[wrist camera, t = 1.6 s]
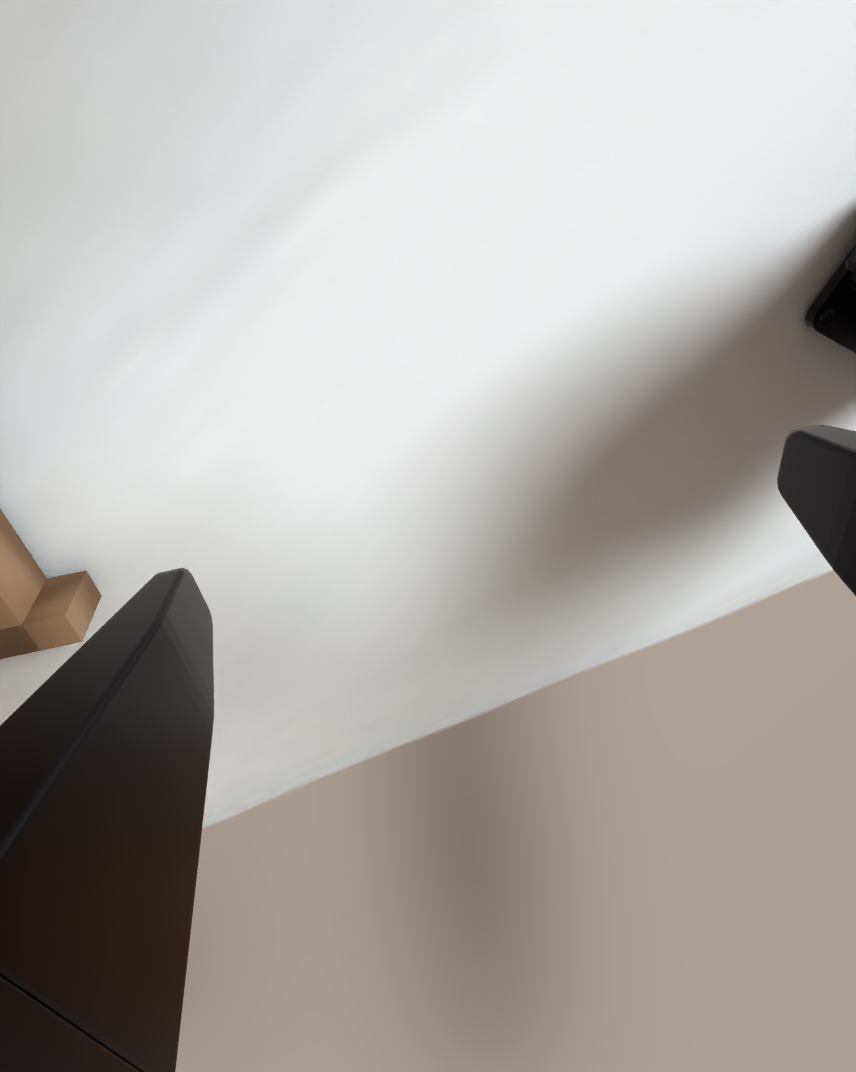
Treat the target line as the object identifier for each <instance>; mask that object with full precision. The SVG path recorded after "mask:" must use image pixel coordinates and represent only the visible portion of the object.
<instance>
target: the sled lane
mask: <svg viewBox="0 0 856 1072" xmlns="http://www.w3.org/2000/svg"><path fill="white" fill-rule="evenodd" d="M100 598H101V594H100V592H99V591H98V589H97V587H96V586H95V584H94V582H93V581H92V579H91V578H90V576H89V574H88V573H87V571H82V572H77V573H73V574H68V575H63V576H58V577H54V578H49V579H47V578H46V577H45V575H44V574H43V572H42V571H41V569H40V568H39V566H38V565H37V563H36V562H35V560H34V559H33V557H32V556H31V554H30V553H29V551H28V550H27V548H26V547H25V545H24V544H23V542H22V541H21V539H20V538H19V536H18V535H17V533H16V532H15V530H14V529H13V527H12V526H11V524H10V523H9V521H8V520H7V518H6V517H5V515H4V514H3V512H2V511H1V509H0V659H3V658H8V657H12V656H17V655H22V654H26V653H31V652H36V651H40V650H45V649H49V648H54V647H59V646H63V645H68V644H73V643H77V642H82V641H83V638H84V636H85V634H86V631H87V629H88V627H89V624H90V622H91V619H92V617H93V615H94V612H95V610H96V607H97V605H98V603H99V600H100Z"/></svg>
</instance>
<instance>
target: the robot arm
mask: <svg viewBox="0 0 856 1072" xmlns="http://www.w3.org/2000/svg"><path fill="white" fill-rule="evenodd" d="M825 311H827V313H826V315H825V317H824V318H823V319H822V320H821V321H820V318H821V316H822V314H823V313H824V312H825ZM805 322H806V325H807V326H808V327H809V328H810V329H812V330H814V331H816V332H817V333H819V334H821V335H823V336H825V337H826V338H828V339H830V340H832V341H834V342H835V343H837V344H839V345H841V346H843V347H844V348H846V349H848V350H850V351H852V352H853V353H855V354H856V246H855V247H854V248H853V250H852V251H851V252H850V254H849V255H848V256H847V258H846V259H845V261H844V262H843V263H842V265H841V266H840V267H839V269H838V270H837V271H836V273H835V274H834V276H833V277H832V278H831V280H830V281H829V282H828V284H827V285H826V287H825V288H824V289H823V291H822V292H821V293H820V295H819V296H818V297H817V299H816V300H815V302H814V303H813V304H812V306H811V307H810V308H809V310H808V312H807V314H806V318H805ZM777 484H778V489H779V491H780V494H781V495H782V497H783V498H784V500H785V501H786V503H787V504H788V506H789V507H790V508H791V510H792V511H793V513H794V514H795V516H796V517H797V519H798V520H799V521H800V523H801V524H802V526H803V527H804V529H805V530H806V532H807V533H808V535H809V536H810V537H811V539H812V540H813V542H814V543H815V545H816V546H817V548H818V549H819V550H820V552H821V553H822V555H823V556H824V558H825V559H826V560H827V562H828V563H829V564H830V566H831V567H832V568H833V570H834V571H835V572H836V573H837V575H838V576H839V577H840V578H841V580H842V581H843V582H844V583H845V584H846V585H847V586H848V588H849V589H850V590H851V591H852V592H853V593H854V595H855V596H856V431H851V430H845V429H840V428H835V427H830V426H824V425H814V426H810V427H805V428H801V429H797V430H794V431H792V432H791V433H789V435H788V436H787V438H786V440H785V444H784V449H783V453H782V458H781V463H780V468H779V472H778V477H777ZM213 720H214V676H213V625H212V618H211V614H210V611H209V608H208V606H207V604H206V602H205V600H204V598H203V596H202V594H201V592H200V590H199V588H198V586H197V584H196V582H195V580H194V578H193V576H192V574H191V573H190V572H189V571H188V570H187V569H185V568H179V569H174V570H170V571H165V572H161V573H158V574H156V575H155V576H154V577H153V578H152V579H151V580H150V581H149V582H148V583H146V584H145V585H144V586H143V587H142V588H141V589H140V590H139V591H138V592H137V593H136V594H135V595H134V596H133V597H132V598H131V599H130V600H129V601H128V602H127V603H126V604H125V605H124V606H123V607H122V608H121V609H120V610H119V611H118V612H117V613H116V614H115V615H114V616H113V617H112V618H111V619H110V620H108V621H107V622H106V623H105V624H104V625H103V626H102V627H101V628H100V629H99V630H98V631H97V632H96V633H95V634H94V635H93V636H92V637H91V638H90V639H89V640H88V641H87V642H86V643H85V644H84V645H83V646H82V647H81V648H80V649H79V650H78V651H77V652H76V653H75V654H74V655H72V656H71V657H70V658H69V659H68V660H67V661H66V662H65V663H64V664H63V665H62V666H61V667H60V668H59V669H58V670H57V671H56V672H55V673H54V674H53V675H52V676H51V677H50V678H49V679H48V680H47V681H46V682H45V683H44V684H43V685H42V686H41V687H40V688H39V689H38V690H36V691H35V692H34V693H33V694H32V695H31V696H30V697H29V698H28V699H27V700H26V701H25V702H24V703H23V704H22V705H21V706H20V707H19V708H18V709H17V710H16V711H15V712H14V713H13V714H12V715H11V716H10V717H9V718H8V719H7V720H6V721H5V722H4V723H3V724H2V725H1V726H0V1072H175V1069H176V1060H177V1051H178V1042H179V1032H180V1024H181V1014H182V1005H183V996H184V987H185V978H186V969H187V960H188V951H189V942H190V933H191V923H192V914H193V905H194V896H195V887H196V877H197V869H198V860H199V850H200V841H201V832H202V823H203V814H204V805H205V796H206V787H207V778H208V769H209V760H210V750H211V741H212V732H213Z"/></svg>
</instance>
